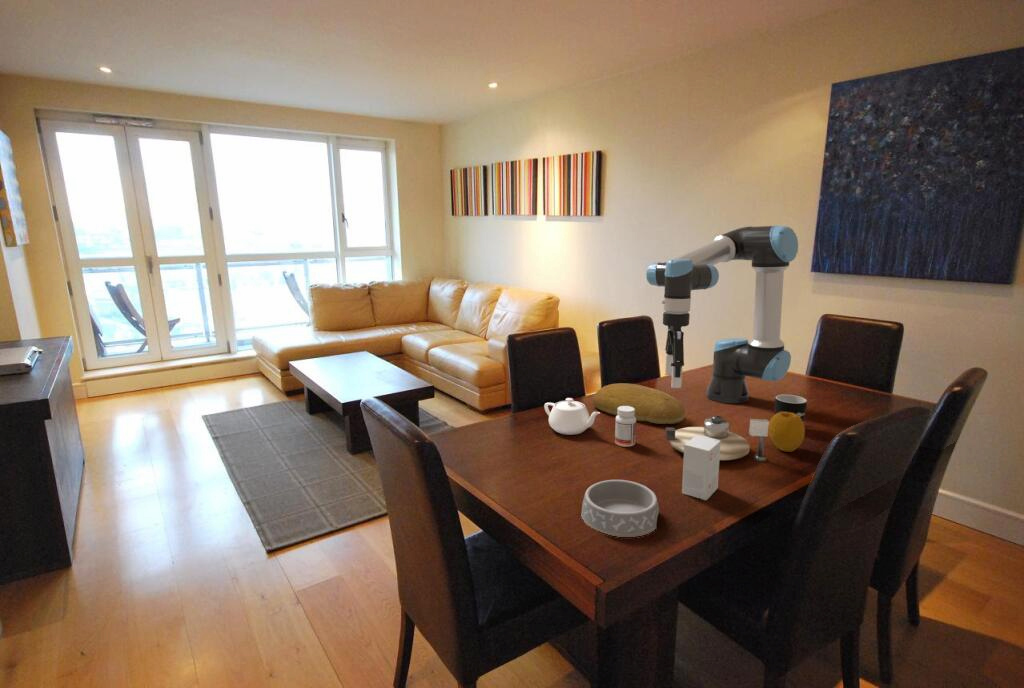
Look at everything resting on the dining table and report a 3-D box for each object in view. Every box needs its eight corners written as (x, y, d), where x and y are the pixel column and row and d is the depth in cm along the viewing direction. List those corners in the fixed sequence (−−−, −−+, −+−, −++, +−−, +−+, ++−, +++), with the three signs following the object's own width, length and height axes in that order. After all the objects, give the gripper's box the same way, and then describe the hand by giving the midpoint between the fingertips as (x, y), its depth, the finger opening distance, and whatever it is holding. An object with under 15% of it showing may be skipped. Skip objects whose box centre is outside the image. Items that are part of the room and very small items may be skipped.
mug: (794, 435, 163) (798, 405, 161) (767, 427, 170) (769, 398, 168) (813, 427, 169) (817, 397, 167) (786, 419, 177) (789, 391, 175)
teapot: (532, 428, 173) (531, 397, 171) (556, 417, 183) (556, 388, 181) (587, 445, 159) (588, 411, 156) (611, 432, 169) (611, 400, 166)
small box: (693, 481, 135) (696, 434, 132) (718, 488, 131) (721, 440, 128) (680, 493, 129) (683, 444, 126) (706, 501, 125) (709, 450, 122)
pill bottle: (626, 438, 163) (627, 403, 161) (639, 445, 158) (640, 409, 156) (610, 441, 161) (611, 407, 158) (623, 448, 155) (624, 413, 153)
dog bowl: (574, 530, 114) (574, 508, 113) (591, 492, 131) (592, 472, 130) (654, 545, 108) (655, 522, 107) (662, 503, 125) (663, 482, 124)
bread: (672, 432, 168) (673, 403, 166) (582, 409, 191) (583, 383, 189) (696, 417, 181) (697, 389, 179) (609, 397, 204) (610, 373, 202)
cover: (701, 429, 161) (702, 413, 160) (725, 430, 160) (726, 413, 159) (705, 438, 154) (707, 420, 153) (730, 439, 153) (732, 422, 152)
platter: (661, 428, 166) (662, 416, 165) (738, 432, 162) (739, 419, 161) (670, 457, 145) (671, 443, 144) (759, 462, 141) (760, 447, 140)
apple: (758, 446, 155) (761, 409, 153) (781, 441, 159) (785, 404, 157) (786, 459, 147) (790, 419, 144) (810, 452, 150) (815, 414, 148)
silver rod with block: (746, 456, 148) (749, 418, 146) (763, 457, 148) (767, 418, 145) (749, 461, 146) (752, 421, 143) (767, 462, 145) (770, 422, 142)
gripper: (658, 306, 166) (655, 370, 170) (669, 318, 142) (665, 392, 146) (682, 306, 165) (679, 370, 169) (697, 318, 141) (693, 393, 145)
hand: (672, 381), depth 158 cm, fingers open, 13 cm apart
